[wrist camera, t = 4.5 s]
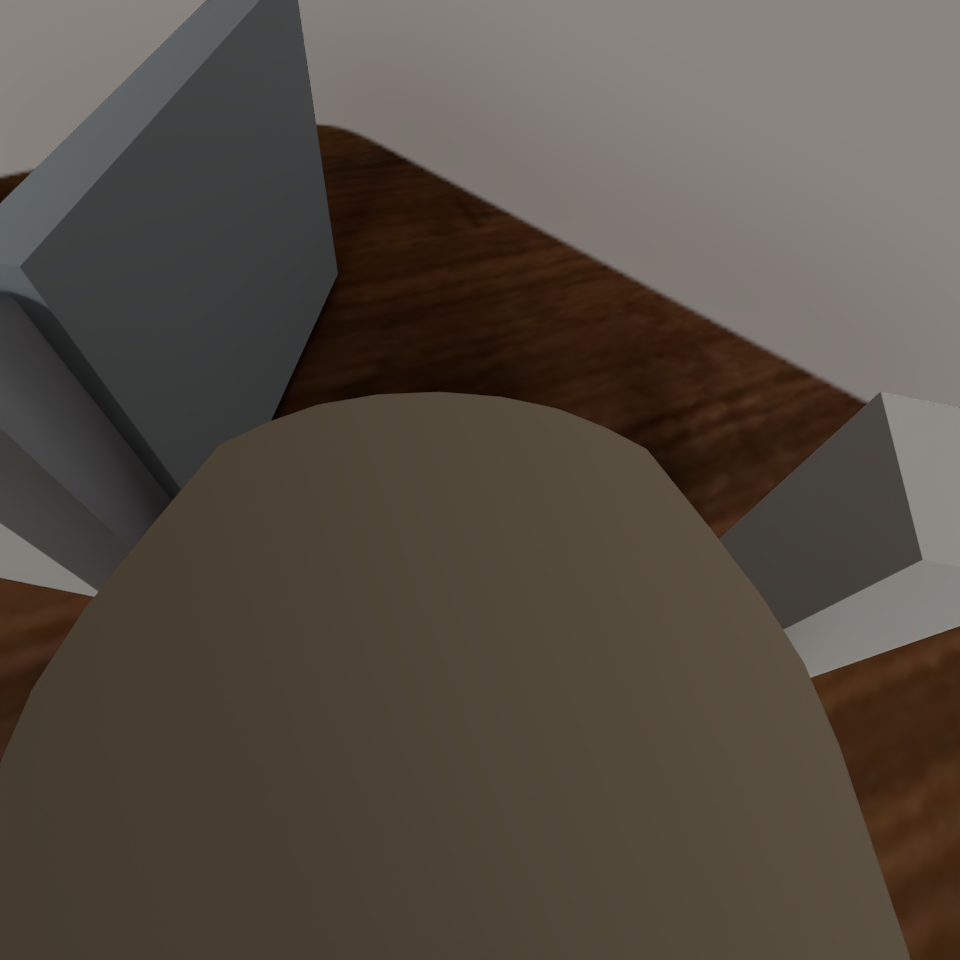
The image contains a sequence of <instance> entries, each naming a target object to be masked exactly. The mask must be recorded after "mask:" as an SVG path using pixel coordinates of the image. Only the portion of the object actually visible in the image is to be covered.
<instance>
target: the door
mask: <svg viewBox="0 0 960 960" xmlns="http://www.w3.org/2000/svg"><path fill="white" fill-rule="evenodd" d="M337 275H338V271H337V264H336V257H335V251H334V244H333V237H332V230H331V223H330V216H329V210H328V203H327V196H326V189H325V182H324V175H323V169H322V162H321V155H320V148H319V141H318V135H317V128H316V121H315V114H314V107H313V100H312V94H311V87H310V80H309V73H308V66H307V60H306V53H305V47H304V39H303V32H302V25H301V19H300V13H299V5H298V0H207V1H205V2H204V3H203V4H202V5H201V6H200V7H199V8H198V9H197V10H196V11H195V12H194V13H193V14H192V15H191V16H190V17H189V18H188V19H187V20H186V21H185V22H184V23H183V24H182V25H181V26H180V27H179V28H178V29H177V30H176V31H175V32H174V33H173V34H172V35H171V36H170V37H169V38H168V39H167V40H166V41H165V42H164V43H163V44H162V45H161V46H160V47H159V48H158V49H157V50H156V51H155V52H154V53H153V54H152V55H151V56H150V57H148V58H147V60H145V61H144V62H143V63H142V65H140V66H139V67H138V68H137V69H136V70H135V71H134V72H133V73H132V74H131V75H130V76H129V77H128V78H127V79H126V80H125V81H124V82H123V83H122V84H121V85H120V86H119V87H118V88H117V89H116V90H115V91H114V92H113V93H112V94H111V95H110V96H109V97H108V98H107V99H106V100H105V101H104V102H103V103H102V104H101V105H100V106H99V107H98V108H97V109H96V110H95V111H94V112H93V113H92V114H91V115H90V116H88V118H86V119H85V121H84V122H83V123H81V124H80V125H79V126H78V127H77V128H76V129H75V130H74V131H73V133H71V134H70V135H69V136H68V137H67V138H66V139H65V140H64V141H63V142H62V143H61V144H60V145H59V146H58V147H57V148H56V149H55V150H54V151H53V152H52V153H51V154H50V155H49V156H48V157H47V158H46V159H45V160H44V161H43V162H42V163H41V164H40V165H39V166H38V167H37V168H36V169H35V170H34V171H33V172H32V173H31V174H30V175H29V176H27V177H26V178H25V179H24V180H23V181H22V182H21V183H20V184H19V185H18V186H17V187H16V188H15V189H14V190H13V191H12V192H11V193H10V194H9V195H8V196H7V197H6V198H5V199H4V200H3V201H2V202H1V203H0V428H1V429H2V430H3V431H4V432H5V433H6V434H7V435H8V436H9V437H10V438H12V439H13V440H14V441H15V442H16V443H17V444H18V445H19V446H20V447H21V448H22V449H23V450H25V451H26V452H27V453H28V454H29V455H30V456H31V457H32V458H33V459H34V460H35V461H36V462H37V463H39V464H40V465H41V466H42V467H43V468H44V469H45V470H46V471H47V472H48V473H49V474H50V475H52V476H53V477H54V478H55V479H56V480H57V481H58V482H59V483H60V484H61V485H62V486H63V487H64V488H66V489H67V490H68V491H69V492H70V493H71V494H72V495H73V496H74V497H75V498H76V499H77V500H79V501H80V502H81V503H82V504H83V505H84V506H85V507H86V508H87V509H88V510H89V511H90V512H91V513H93V514H94V515H95V516H96V517H97V518H98V519H99V520H100V521H101V522H102V523H103V524H104V525H106V526H107V527H108V528H109V529H110V530H111V531H112V532H113V533H114V534H115V535H116V536H117V537H118V538H120V539H121V540H122V541H123V542H124V543H125V544H126V545H127V546H128V547H129V548H130V549H131V550H132V549H133V548H134V547H135V545H136V544H137V543H138V542H139V540H140V539H141V538H142V537H143V535H144V534H145V533H146V532H147V530H148V529H149V528H150V527H151V526H152V524H153V523H154V522H155V521H156V520H157V518H158V517H159V516H160V515H161V514H162V512H163V511H164V510H165V509H166V508H167V507H168V505H169V504H170V503H171V502H172V501H173V499H174V498H175V497H176V496H177V495H178V493H179V492H180V491H181V490H182V489H183V487H184V486H185V485H186V484H187V483H188V481H189V480H190V479H191V478H192V477H193V476H194V474H195V473H196V472H197V471H198V470H199V468H200V467H201V466H202V465H203V464H204V462H205V461H206V460H207V459H208V458H209V456H210V455H211V454H212V453H213V452H214V451H215V449H216V448H217V447H218V446H219V445H220V444H222V443H224V442H226V441H229V440H231V439H233V438H235V437H237V436H239V435H241V434H243V433H246V432H248V431H250V430H252V429H254V428H256V427H258V426H260V425H263V424H265V423H267V422H269V421H271V420H272V417H273V415H274V413H275V411H276V409H277V406H278V404H279V402H280V400H281V398H282V395H283V393H284V391H285V389H286V387H287V384H288V382H289V380H290V378H291V376H292V373H293V371H294V369H295V367H296V365H297V362H298V360H299V358H300V356H301V354H302V351H303V349H304V347H305V345H306V343H307V340H308V338H309V336H310V334H311V332H312V329H313V327H314V325H315V323H316V321H317V318H318V316H319V314H320V312H321V310H322V307H323V305H324V303H325V301H326V299H327V297H328V294H329V292H330V290H331V288H332V286H333V283H334V281H335V279H336V277H337Z"/></svg>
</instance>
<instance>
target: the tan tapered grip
mask: <svg viewBox="0 0 960 960" xmlns="http://www.w3.org/2000/svg"><path fill="white" fill-rule="evenodd" d="M0 960H910V957H909V953H908V950H907V947H906V944H905V941H904V938H903V935H902V932H901V929H900V926H899V923H898V920H897V917H896V914H895V911H894V908H893V905H892V902H891V899H890V896H889V893H888V890H887V887H886V884H885V881H884V878H883V875H882V872H881V869H880V866H879V863H878V860H877V857H876V854H875V851H874V848H873V845H872V842H871V839H870V837H869V834H868V831H867V828H866V825H865V822H864V819H863V816H862V813H861V810H860V807H859V804H858V801H857V798H856V795H855V792H854V789H853V786H852V783H851V780H850V777H849V774H848V771H847V768H846V765H845V762H844V759H843V756H842V753H841V750H840V747H839V744H838V742H837V739H836V737H835V734H834V732H833V730H832V727H831V725H830V723H829V720H828V718H827V716H826V713H825V711H824V709H823V706H822V704H821V701H820V699H819V697H818V694H817V692H816V690H815V687H814V685H813V683H812V680H811V678H810V676H809V673H808V671H807V669H806V666H805V664H804V662H803V660H802V659H801V657H800V656H799V654H798V653H797V651H796V649H795V648H794V646H793V645H792V643H791V641H790V640H789V638H788V637H787V635H786V633H785V632H784V630H783V629H782V627H781V626H780V624H779V622H778V621H777V619H776V618H775V616H774V614H773V613H772V611H771V610H770V608H769V606H768V605H767V603H766V602H765V600H764V599H763V597H762V595H761V594H760V593H759V591H758V590H757V589H756V588H755V586H754V585H753V584H752V582H751V581H750V580H749V578H748V577H747V576H746V574H745V573H744V572H743V571H742V569H741V568H740V567H739V565H738V564H737V563H736V561H735V560H734V559H733V557H732V556H731V555H730V554H729V552H728V551H727V550H726V548H725V547H724V546H723V544H722V543H721V542H720V540H719V539H718V538H717V537H716V535H715V534H714V533H713V531H712V530H711V529H710V527H709V526H708V525H707V524H706V522H705V521H704V520H703V519H702V517H701V516H700V515H699V514H698V512H697V511H696V510H695V509H694V507H693V506H692V505H691V504H690V502H689V501H688V500H687V499H686V497H685V496H684V495H683V494H682V492H681V491H680V490H679V489H678V487H677V486H676V485H675V484H674V482H673V481H672V480H671V479H670V477H669V476H668V475H667V474H666V472H665V471H664V470H663V469H662V467H661V466H660V465H659V464H658V462H657V461H656V460H655V459H654V457H653V456H652V455H651V454H650V452H649V451H648V450H647V449H646V448H644V447H642V446H640V445H638V444H636V443H634V442H632V441H630V440H628V439H626V438H624V437H623V436H621V435H619V434H617V433H615V432H613V431H611V430H609V429H607V428H605V427H603V426H600V425H598V424H595V423H593V422H590V421H588V420H585V419H583V418H580V417H578V416H575V415H573V414H570V413H567V412H565V411H562V410H560V409H557V408H552V407H547V406H542V405H538V404H533V403H528V402H524V401H519V400H514V399H510V398H505V397H497V396H485V395H473V394H461V393H448V392H425V393H401V394H377V395H371V396H366V397H360V398H354V399H348V400H342V401H336V402H330V403H325V404H319V405H315V406H313V407H310V408H307V409H304V410H301V411H298V412H295V413H292V414H290V415H287V416H284V417H281V418H278V419H275V420H272V421H269V422H267V423H265V424H263V425H260V426H258V427H256V428H254V429H252V430H250V431H248V432H246V433H243V434H241V435H239V436H237V437H235V438H233V439H231V440H229V441H226V442H224V443H222V444H220V445H219V446H218V447H217V448H216V449H215V451H214V452H213V453H212V454H211V455H210V456H209V458H208V459H207V460H206V461H205V462H204V464H203V465H202V466H201V467H200V468H199V470H198V471H197V472H196V473H195V474H194V476H193V477H192V478H191V479H190V480H189V481H188V483H187V484H186V485H185V486H184V487H183V489H182V490H181V491H180V492H179V493H178V495H177V496H176V497H175V498H174V499H173V501H172V502H171V503H170V504H169V505H168V507H167V508H166V509H165V510H164V511H163V512H162V514H161V515H160V516H159V517H158V518H157V520H156V521H155V522H154V523H153V524H152V526H151V527H150V528H149V529H148V530H147V532H146V533H145V534H144V535H143V537H142V538H141V539H140V540H139V542H138V543H137V544H136V545H135V547H134V548H133V549H132V550H131V552H130V553H129V554H128V555H127V557H126V558H125V559H124V560H123V562H122V563H121V564H120V565H119V567H118V568H117V569H116V570H115V572H114V573H113V574H112V575H111V577H110V578H109V579H108V580H107V582H106V583H105V584H104V585H103V587H102V588H101V589H100V590H99V592H98V593H97V594H96V595H95V597H94V598H93V599H92V600H91V602H90V603H89V604H88V605H87V607H86V608H85V609H84V611H83V612H82V614H81V615H80V617H79V618H78V620H77V622H76V623H75V625H74V626H73V628H72V629H71V631H70V632H69V634H68V635H67V637H66V638H65V640H64V641H63V643H62V644H61V646H60V647H59V649H58V651H57V652H56V654H55V655H54V657H53V658H52V660H51V661H50V663H49V664H48V666H47V667H46V669H45V670H44V672H43V673H42V675H41V676H40V678H39V680H38V681H37V683H36V684H35V686H34V687H33V689H32V691H31V693H30V696H29V698H28V700H27V703H26V705H25V707H24V709H23V712H22V714H21V716H20V719H19V721H18V723H17V726H16V728H15V730H14V733H13V735H12V737H11V739H10V742H9V744H8V746H7V749H6V751H5V753H4V756H3V758H2V760H1V763H0Z"/></svg>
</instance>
